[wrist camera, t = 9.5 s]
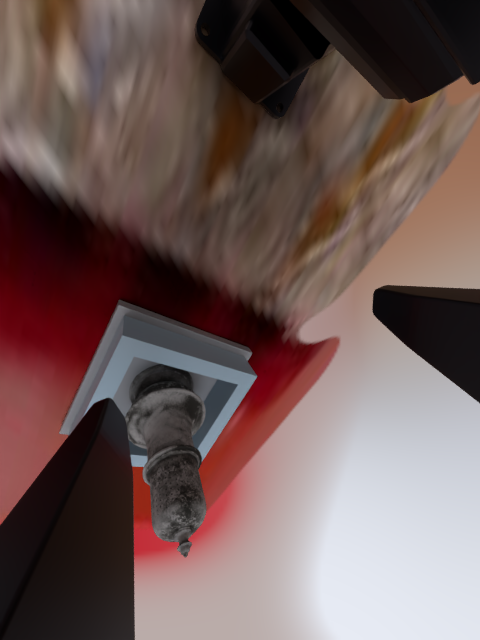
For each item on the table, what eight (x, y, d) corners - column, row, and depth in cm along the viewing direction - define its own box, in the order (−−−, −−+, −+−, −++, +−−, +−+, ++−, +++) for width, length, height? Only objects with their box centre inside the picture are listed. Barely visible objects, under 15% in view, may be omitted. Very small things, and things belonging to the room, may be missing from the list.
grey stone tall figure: (113, 410, 21) (95, 608, 11) (142, 352, 20) (150, 517, 10) (179, 420, 24) (211, 584, 14) (207, 370, 23) (265, 511, 13)
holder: (119, 299, 19) (115, 323, 15) (248, 347, 25) (266, 372, 21) (62, 423, 21) (48, 467, 18) (191, 439, 27) (199, 474, 24)
